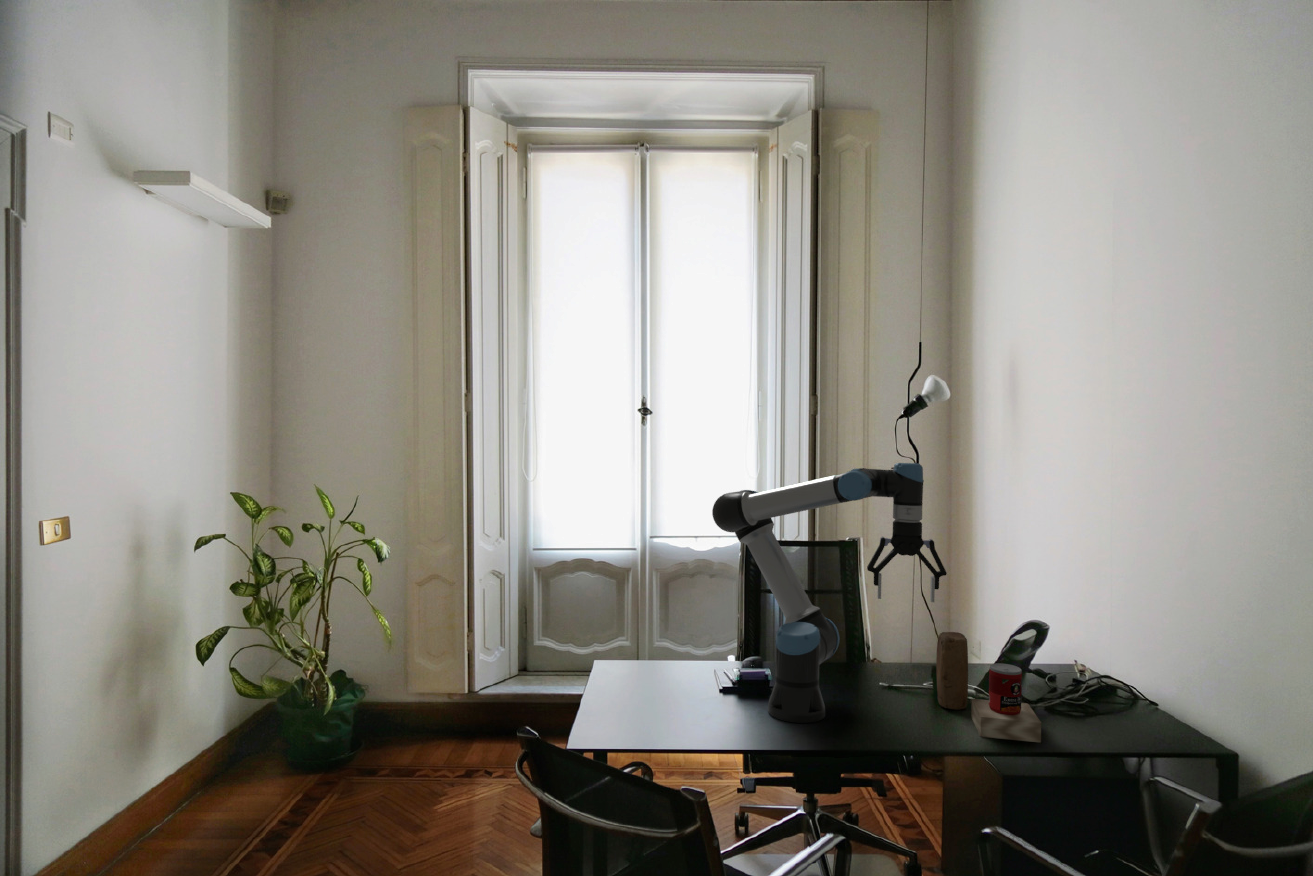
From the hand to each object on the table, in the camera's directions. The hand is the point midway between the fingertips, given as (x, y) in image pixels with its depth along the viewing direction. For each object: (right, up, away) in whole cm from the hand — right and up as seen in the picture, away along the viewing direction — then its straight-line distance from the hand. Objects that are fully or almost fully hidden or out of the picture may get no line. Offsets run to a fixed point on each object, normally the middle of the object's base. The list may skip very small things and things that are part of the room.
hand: (905, 599), depth 209 cm
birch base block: (+23, -32, -7) cm, 40 cm away
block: (+16, -32, +11) cm, 37 cm away
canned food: (+23, -27, -8) cm, 37 cm away
